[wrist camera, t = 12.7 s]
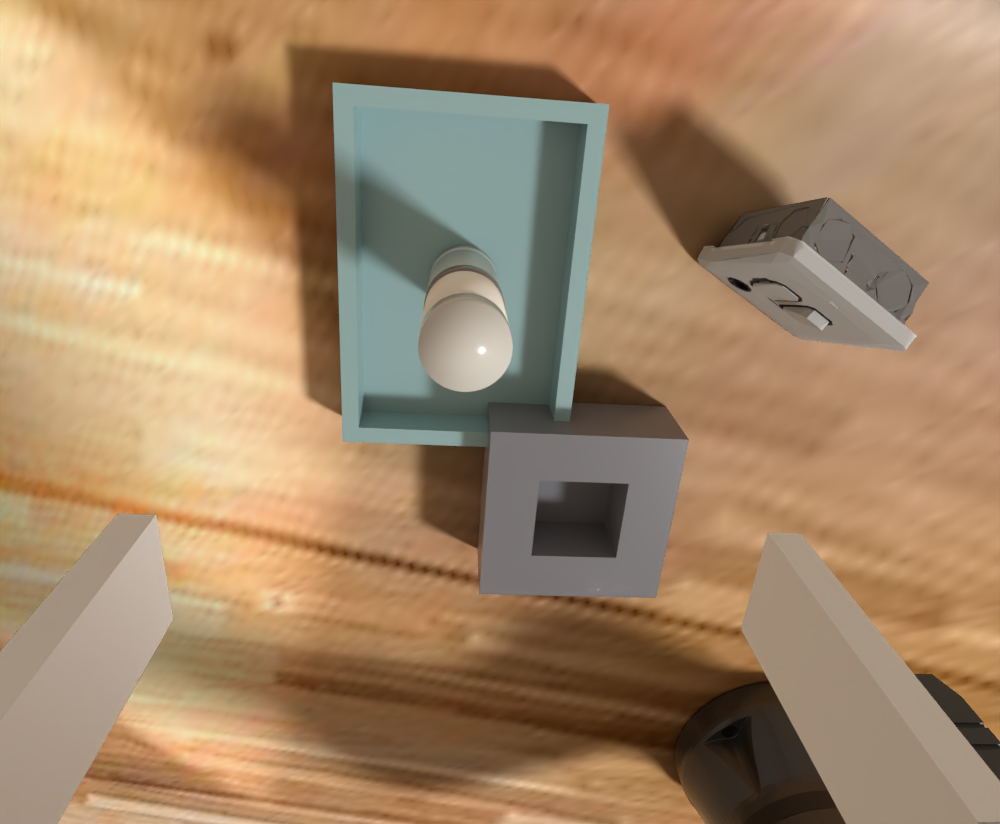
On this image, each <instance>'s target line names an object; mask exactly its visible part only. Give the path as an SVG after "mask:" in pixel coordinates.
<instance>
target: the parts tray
mask: <svg viewBox="0 0 1000 824" xmlns="http://www.w3.org/2000/svg"><path fill="white" fill-rule="evenodd" d="M332 84H333V119H334V154H335V189H336V225H337V260H338V295H339V330H340V365H341V400H342V436H343V442H368V443H394V444H420V445H446V446H472V447H488V436H489V430H488V419H487V413H488V402H496V403H519V404H542V405H549V406H550V410H551V413H552V416H553V420H554V421H567V422H570V416H571V408H572V400H573V392H574V384H575V376H576V368H577V360H578V352H579V344H580V336H581V328H582V320H583V312H584V304H585V296H586V288H587V280H588V272H589V264H590V256H591V248H592V240H593V232H594V224H595V216H596V208H597V200H598V192H599V184H600V176H601V168H602V160H603V152H604V144H605V136H606V128H607V120H608V112H609V104H598V103H586V102H573V101H560V100H548V99H535V98H523V97H510V96H497V95H485V94H472V93H460V92H447V91H434V90H422V89H409V88H397V87H384V86H371V85H359V84H346V83H334V82H332ZM456 245H470V246H474V247H477V248H479V249H480V250H482V251H483V252H485V253H486V254H487V255H488V256H489V257H490V259H491V260H492V262H493V263H494V266H495V269H496V272H497V277H498V281H499V285H500V288H501V291H502V294H503V298H504V302H505V311H506V315H507V320H508V324H509V328H510V333H511V337H512V343H513V351H512V357H511V360H510V363H509V365H508V368H507V369H506V371H505V372H504V374H503V375H502V376H501V377H500V378H499V379H498V380H497V381H496V382H494V383H493V384H491V385H490V386H488V387H486V388H483V389H481V390H477V391H471V392H460V391H454V390H450V389H448V388H445V387H443V386H441V385H440V384H438V383H437V382H435V381H434V380H433V379H432V378H431V377H430V376H429V375H428V374H427V372H426V371H425V369H424V368H423V366H422V364H421V361H420V358H419V353H418V341H419V335H420V329H421V324H422V318H423V312H424V301H425V296H426V292H427V289H428V284H429V279H430V273H431V268H432V266H433V263H434V261H435V260H436V258H437V257H438V256H439V255H440V254H441V253H442V252H443V251H444V250H446V249H448V248H450V247H452V246H456Z"/></svg>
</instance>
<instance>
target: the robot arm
mask: <svg viewBox="0 0 1000 824" xmlns="http://www.w3.org/2000/svg"><path fill="white" fill-rule="evenodd" d="M172 621H173V614H172V608H171V602H170V596H169V590H168V584H167V578H166V571H165V565H164V559H163V553H162V547H161V541H160V535H159V529H158V523H157V517H156V515H150V514H117V515H116V516H115V517H114V519H113V520H112V521H111V522H110V523H109V524H108V526H107V527H106V528H105V529H104V530H103V531H102V533H101V534H100V535H99V536H98V537H97V538H96V540H95V541H94V542H93V543H92V544H91V546H90V547H89V548H88V549H87V550H86V551H85V553H84V554H83V555H82V556H81V557H80V558H79V560H78V561H77V562H76V563H75V564H74V565H73V567H72V568H71V569H70V570H69V571H68V573H67V574H66V575H65V576H64V577H63V578H62V580H61V581H60V582H59V583H58V584H57V585H56V587H55V588H54V589H53V590H52V591H51V592H50V594H49V595H48V596H47V597H46V598H45V600H44V601H43V602H42V603H41V604H40V605H39V607H38V608H37V609H36V610H35V611H34V612H33V614H32V615H31V616H30V617H29V618H28V619H27V621H26V622H25V623H24V624H23V625H22V626H21V628H20V629H19V630H18V631H17V632H16V634H15V635H14V636H13V637H12V638H11V639H10V641H9V642H8V643H7V644H6V645H5V646H4V648H3V649H2V650H1V651H0V824H58V822H59V820H60V819H61V817H62V815H63V813H64V811H65V810H66V808H67V806H68V804H69V803H70V801H71V799H72V797H73V796H74V794H75V792H76V790H77V788H78V787H79V785H80V783H81V781H82V780H83V778H84V776H85V774H86V773H87V771H88V769H89V767H90V765H91V764H92V762H93V760H94V758H95V757H96V755H97V753H98V751H99V750H100V748H101V746H102V744H103V743H104V741H105V739H106V737H107V735H108V734H109V732H110V730H111V728H112V727H113V725H114V723H115V721H116V720H117V718H118V716H119V714H120V712H121V711H122V709H123V707H124V705H125V704H126V702H127V700H128V698H129V697H130V695H131V693H132V691H133V690H134V688H135V686H136V684H137V682H138V681H139V679H140V677H141V675H142V674H143V672H144V670H145V668H146V667H147V665H148V663H149V661H150V659H151V658H152V656H153V654H154V652H155V651H156V649H157V647H158V645H159V644H160V642H161V640H162V638H163V637H164V635H165V633H166V631H167V629H168V628H169V626H170V624H171V622H172ZM741 630H742V632H743V634H744V636H745V638H746V639H747V641H748V643H749V645H750V647H751V649H752V651H753V652H754V654H755V656H756V658H757V660H758V662H759V664H760V665H761V667H762V669H763V671H764V673H765V675H766V677H767V678H768V680H769V682H768V683H760V684H754V685H750V686H746V687H743V688H739V689H736V690H734V691H731V692H729V693H726V694H724V695H722V696H720V697H718V698H717V699H715V700H713V701H712V702H710V703H709V704H707V705H706V706H704V707H703V708H702V709H701V710H699V711H698V712H697V713H696V714H695V715H694V716H693V717H692V718H691V719H690V720H689V721H688V723H687V724H686V725H685V727H684V728H683V730H682V732H681V733H680V735H679V738H678V740H677V743H676V747H675V753H674V760H675V766H676V769H677V772H678V775H679V778H680V781H681V784H682V787H683V790H684V792H685V794H686V796H687V798H688V800H689V801H690V803H691V804H692V805H693V807H694V808H695V809H696V810H697V812H698V813H699V815H700V816H701V818H702V819H703V820H704V822H705V823H706V824H1000V741H999V740H998V739H997V738H996V737H995V735H994V734H993V733H992V732H991V731H990V730H989V728H985V727H984V723H983V721H982V720H981V719H980V718H979V717H978V716H977V714H976V713H975V712H974V711H973V710H972V708H971V707H970V706H969V705H968V704H967V703H966V701H965V700H964V699H963V698H962V697H961V696H960V695H958V694H957V693H956V692H955V691H953V690H952V689H951V688H949V687H948V686H947V685H945V684H944V683H943V682H941V681H940V680H939V679H937V678H936V677H935V676H933V675H932V674H913V672H912V671H911V670H910V669H909V667H908V666H907V665H906V664H905V662H904V661H903V660H902V659H901V657H900V656H899V655H898V654H897V653H896V651H895V650H894V649H893V648H892V646H891V645H890V644H889V643H888V641H887V640H886V639H885V638H884V636H883V635H882V634H881V633H880V631H879V630H878V629H877V628H876V626H875V625H874V624H873V623H872V621H871V620H870V619H869V618H868V616H867V615H866V614H865V613H864V611H863V610H862V609H861V608H860V606H859V605H858V604H857V603H856V601H855V600H854V599H853V598H852V596H851V595H850V594H849V593H848V592H847V590H846V589H845V588H844V587H843V585H842V584H841V583H840V582H839V580H838V579H837V578H836V577H835V575H834V574H833V573H832V572H831V570H830V569H829V568H828V567H827V565H826V564H825V563H824V562H823V560H822V559H821V558H820V557H819V555H818V554H817V553H816V552H815V550H814V549H813V548H812V547H811V545H810V544H809V543H808V542H807V540H806V539H805V538H804V537H803V536H802V534H798V533H768V534H767V537H766V541H765V545H764V548H763V552H762V555H761V559H760V563H759V566H758V570H757V573H756V577H755V581H754V584H753V588H752V591H751V595H750V599H749V602H748V606H747V609H746V613H745V617H744V620H743V624H742V627H741Z"/></svg>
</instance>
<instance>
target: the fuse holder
mask: <svg viewBox="0 0 1000 824" xmlns="http://www.w3.org/2000/svg"><path fill="white" fill-rule="evenodd" d="M487 419H488V430H489V436H488V447H485V448H484V463H483V477H482V492H481V507H480V521H479V536H478V573H479V594H500V595H547V596H593V597H640V598H656V595H657V590H658V585H659V581H660V576H661V571H662V566H663V561H664V557H665V552H666V547H667V542H668V537H669V532H670V528H671V523H672V518H673V513H674V508H675V504H676V499H677V494H678V489H679V484H680V479H681V475H682V470H683V465H684V460H685V455H686V450H687V446H688V441H689V439H688V438H687V436H686V435H685V434H684V432H683V431H682V429H681V428H680V426H679V425H678V423H677V422H676V421H675V419H674V418H673V416H672V415H671V413H670V412H669V410H668V409H667V408H666V406H645V405H623V404H600V403H577V402H572V408H571V416H570V422H567V421H554V420H553V416H552V413H551V410H550V406H549V405H542V404H519V403H496V402H488V413H487Z"/></svg>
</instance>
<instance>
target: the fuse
mask: <svg viewBox="0 0 1000 824" xmlns="http://www.w3.org/2000/svg"><path fill="white" fill-rule="evenodd" d="M512 351H513V343H512V337H511V333H510V328H509V324H508V320H507V315H506V311H505V302H504V298H503V294H502V291H501V288H500V285H499V281H498V277H497V272H496V269H495V266H494V263H493V262H492V260H491V259H490V257H489V256H488V255H487V254H486V253H485V252H483V251H482V250H480V249H479V248H477V247H474V246H470V245H456V246H452V247H450V248H448V249H446V250H444V251H443V252H442V253H441V254H440V255H439V256H438V257H437V258H436V260H435V261H434V263H433V266H432V268H431V273H430V279H429V284H428V289H427V292H426V296H425V301H424V312H423V318H422V324H421V329H420V335H419V341H418V353H419V358H420V361H421V364H422V366H423V368H424V369H425V371H426V372H427V374H428V375H429V376H430V377H431V378H432V379H433V380H434V381H435V382H437V383H438V384H440V385H441V386H443V387H445V388H448V389H450V390H454V391H460V392H471V391H477V390H481V389H483V388H486V387H488V386H490V385H491V384H493V383H494V382H496V381H497V380H498V379H499V378H500V377H501V376H502V375H503V374H504V372H505V371H506V369H507V368H508V365H509V363H510V360H511V357H512Z"/></svg>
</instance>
